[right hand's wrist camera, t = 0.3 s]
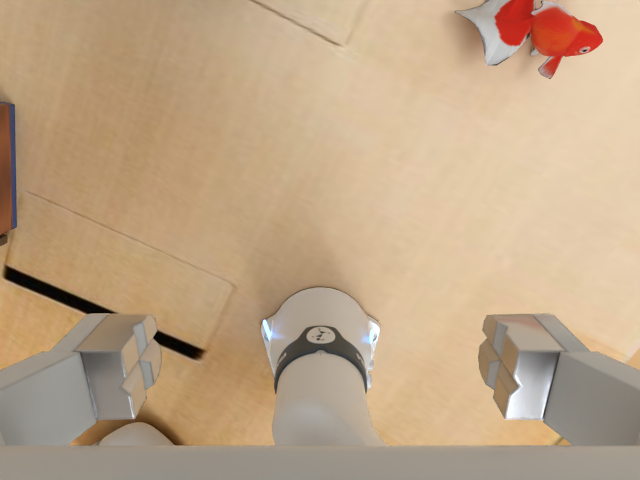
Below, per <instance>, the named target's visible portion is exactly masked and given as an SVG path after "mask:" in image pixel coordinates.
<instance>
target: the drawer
mask: <svg viewBox="0 0 640 480" xmlns="http://www.w3.org/2000/svg"><path fill="white" fill-rule="evenodd" d="M5 243H7V235H4V234H1V235H0V246H2V245H4V244H5Z"/></svg>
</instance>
